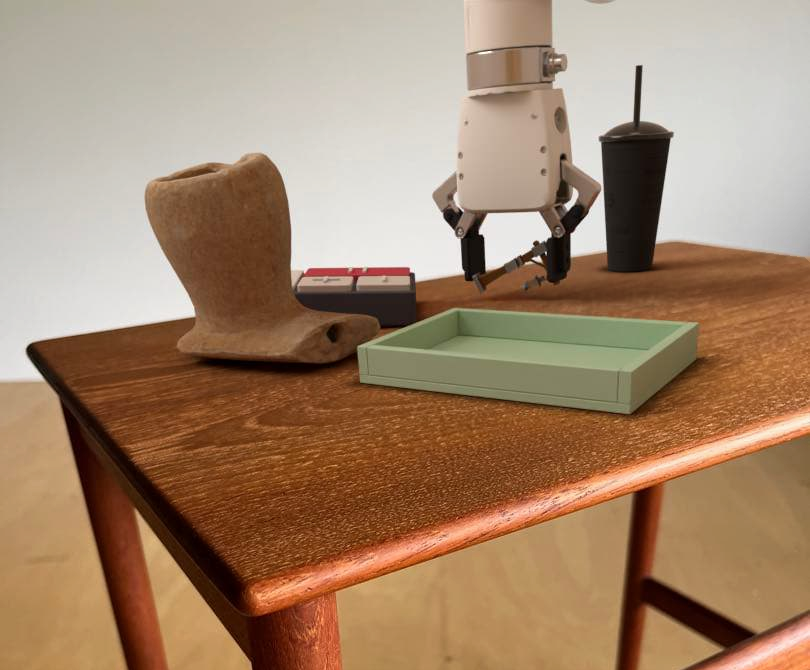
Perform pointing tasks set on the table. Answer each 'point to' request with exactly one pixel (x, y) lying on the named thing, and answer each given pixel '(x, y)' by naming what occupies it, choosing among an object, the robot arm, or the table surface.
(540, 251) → the wooden post with brackets
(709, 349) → the table surface
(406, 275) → the dark box with panels
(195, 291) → the boot-shaped pottery piece
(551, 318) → the tray
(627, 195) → the drinking cup
